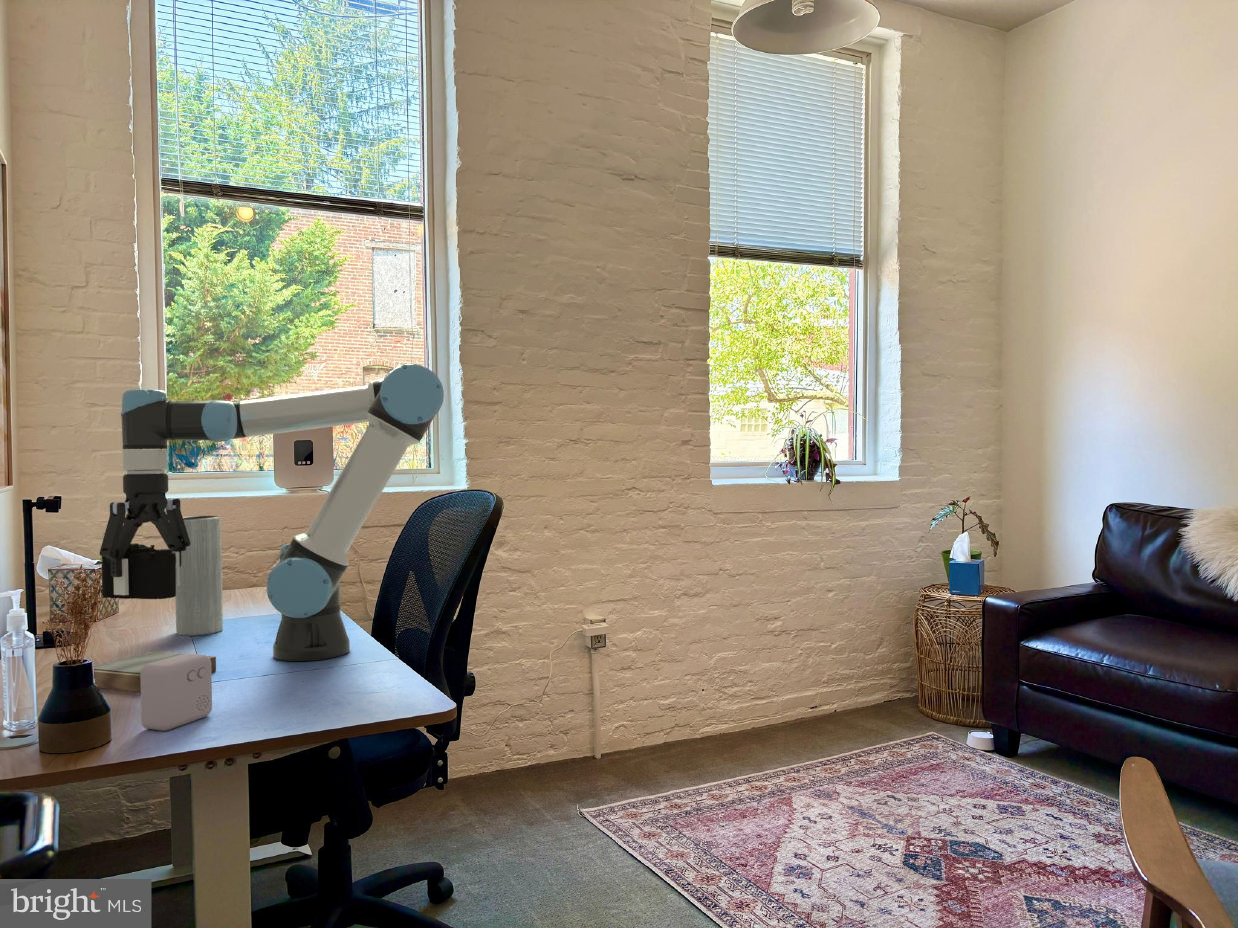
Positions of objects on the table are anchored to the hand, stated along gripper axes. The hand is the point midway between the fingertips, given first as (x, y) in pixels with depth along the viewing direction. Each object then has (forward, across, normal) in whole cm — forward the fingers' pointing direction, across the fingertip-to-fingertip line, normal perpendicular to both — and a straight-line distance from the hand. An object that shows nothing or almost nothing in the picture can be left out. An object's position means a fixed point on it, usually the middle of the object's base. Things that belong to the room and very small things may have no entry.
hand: (147, 589), depth 169 cm
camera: (+1, 0, 0) cm, 1 cm away
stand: (+17, 0, 0) cm, 17 cm away
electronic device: (+17, +20, +28) cm, 38 cm away
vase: (+17, -37, -25) cm, 48 cm away
